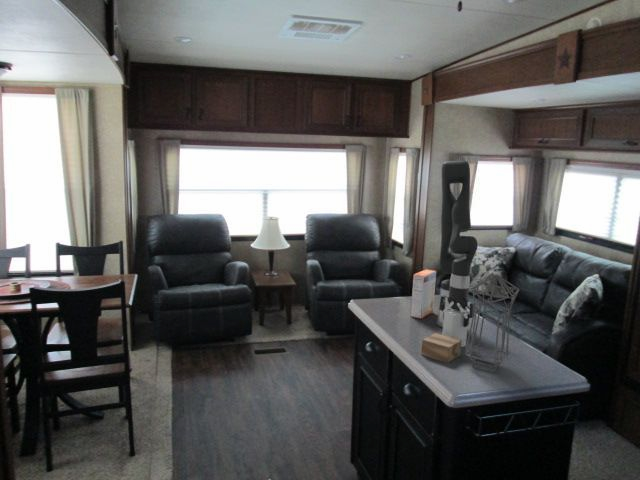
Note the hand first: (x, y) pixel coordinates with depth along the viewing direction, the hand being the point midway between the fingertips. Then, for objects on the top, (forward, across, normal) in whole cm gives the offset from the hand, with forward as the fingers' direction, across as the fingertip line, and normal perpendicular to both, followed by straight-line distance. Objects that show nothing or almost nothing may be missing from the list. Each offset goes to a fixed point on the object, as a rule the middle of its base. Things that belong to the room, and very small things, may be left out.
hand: (455, 324), depth 213 cm
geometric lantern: (+9, -18, +11) cm, 23 cm away
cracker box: (+9, +29, -26) cm, 40 cm away
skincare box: (+9, 0, 0) cm, 9 cm away
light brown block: (+9, -1, +13) cm, 16 cm away
